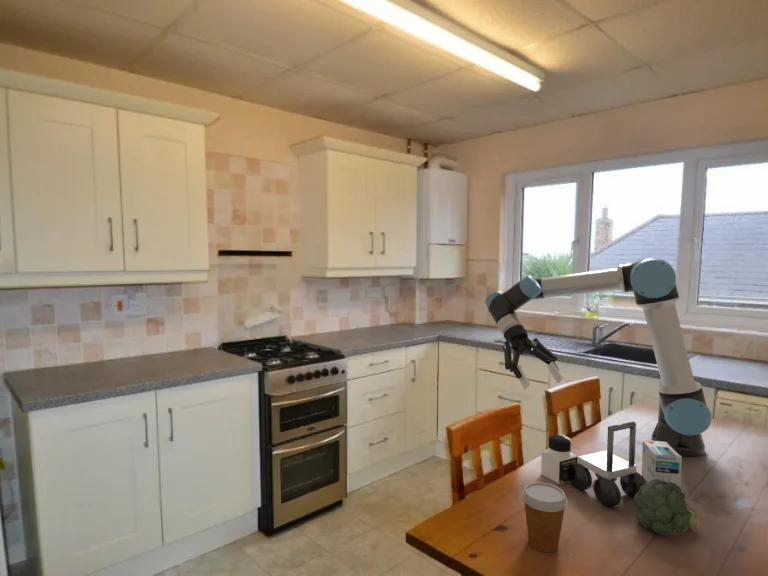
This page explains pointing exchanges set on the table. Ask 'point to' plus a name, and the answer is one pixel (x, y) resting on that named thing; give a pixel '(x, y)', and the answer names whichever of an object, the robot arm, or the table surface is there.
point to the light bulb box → (661, 462)
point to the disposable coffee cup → (544, 515)
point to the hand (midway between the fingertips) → (544, 383)
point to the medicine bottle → (558, 459)
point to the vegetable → (663, 508)
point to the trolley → (608, 470)
